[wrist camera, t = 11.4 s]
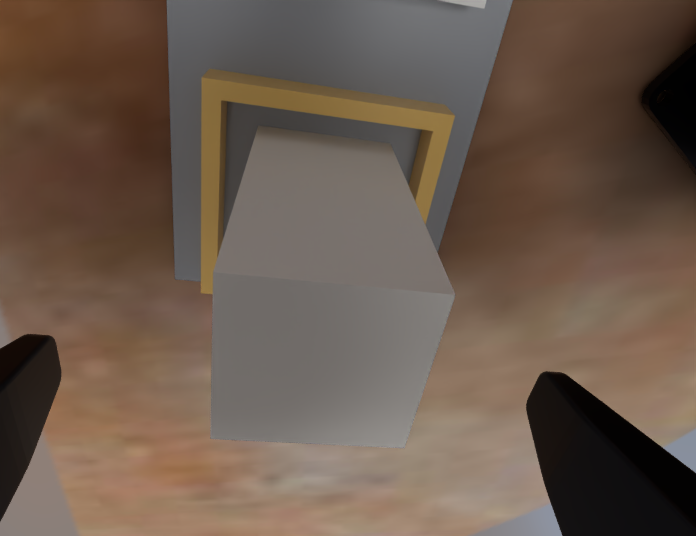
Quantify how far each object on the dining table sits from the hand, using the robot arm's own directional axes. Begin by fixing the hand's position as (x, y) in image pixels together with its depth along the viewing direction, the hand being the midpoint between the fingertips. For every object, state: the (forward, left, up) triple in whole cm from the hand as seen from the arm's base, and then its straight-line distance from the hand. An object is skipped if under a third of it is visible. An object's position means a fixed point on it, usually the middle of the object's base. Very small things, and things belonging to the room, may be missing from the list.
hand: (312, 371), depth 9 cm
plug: (0, 0, -8) cm, 8 cm away
